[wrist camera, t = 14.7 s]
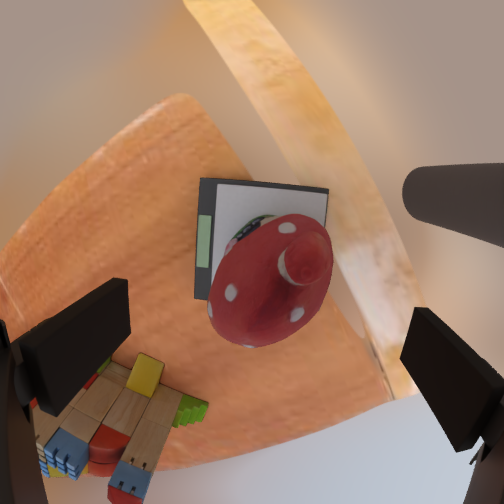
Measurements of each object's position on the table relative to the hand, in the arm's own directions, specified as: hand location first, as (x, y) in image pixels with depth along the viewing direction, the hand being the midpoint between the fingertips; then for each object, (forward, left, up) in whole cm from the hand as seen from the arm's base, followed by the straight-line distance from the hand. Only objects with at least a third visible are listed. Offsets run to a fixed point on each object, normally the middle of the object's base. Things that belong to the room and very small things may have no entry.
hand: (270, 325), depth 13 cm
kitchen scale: (+1, 0, -19) cm, 19 cm away
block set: (+20, +21, -19) cm, 35 cm away
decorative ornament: (0, 0, -16) cm, 16 cm away
